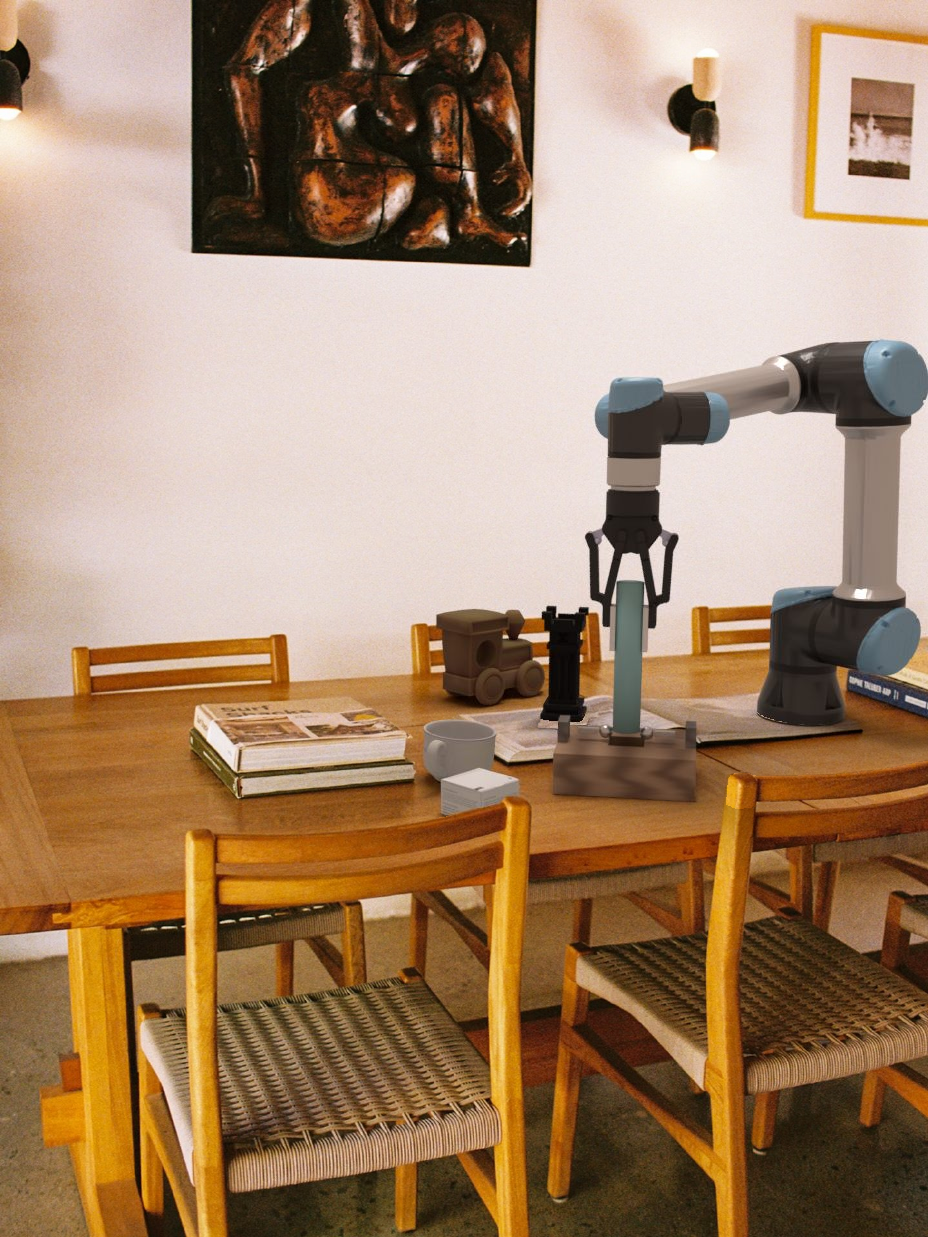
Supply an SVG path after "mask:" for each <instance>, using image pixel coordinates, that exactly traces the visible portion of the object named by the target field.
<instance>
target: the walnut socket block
mask: <svg viewBox="0 0 928 1237" xmlns="http://www.w3.org/2000/svg"><path fill="white" fill-rule="evenodd" d="M578 726H584V727H599V729H600V727H601V726H602V725H570V716H567V715H560V717H559V720H558V729H556V731H557V735H556V736H557V737H556V739H557V740H556V745H555V747H554V750H553V754H552V755H553V756H552V795H568V796H569V795H570V796H588V797H602V798H603V797H604V798H622V799H623V798H624V799H637V800H638V799H642V800H657V801H658V800H660V801H675V802H677V801H679V802H692V803H693V802H696V778H697V728H698V727H697V721H694V720H686V721H685V729H673V728H672V729H671V728H653V727H651V728H652V730H653V732H654V730H670V731H675V738H657V737H654V735H653V737H652V738H651V739H650V740H644V739H642V738H641V736H640V732H639V733H636V734H620V733H616V732H614V731H613V733H612V735H611V736H610V737H609V738H603V737H602V736H601V735H600V733H598V735H594V734H578ZM611 727H612V729H613V726H611ZM642 728H643V727H640V730H641V729H642Z"/></svg>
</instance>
